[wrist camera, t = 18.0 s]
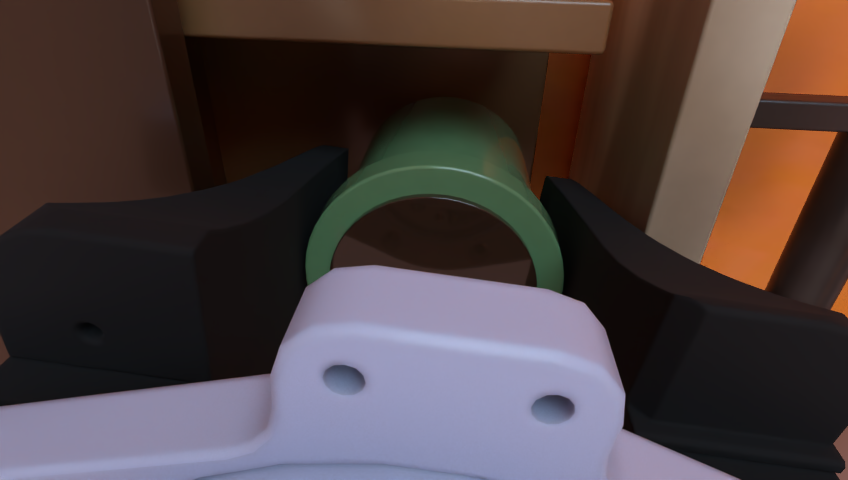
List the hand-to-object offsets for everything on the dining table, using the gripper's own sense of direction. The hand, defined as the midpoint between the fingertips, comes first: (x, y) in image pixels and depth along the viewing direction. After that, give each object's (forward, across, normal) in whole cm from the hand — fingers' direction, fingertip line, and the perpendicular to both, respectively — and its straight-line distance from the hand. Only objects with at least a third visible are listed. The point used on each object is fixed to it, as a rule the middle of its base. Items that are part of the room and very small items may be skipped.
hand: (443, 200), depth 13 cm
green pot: (+1, 0, 0) cm, 1 cm away
